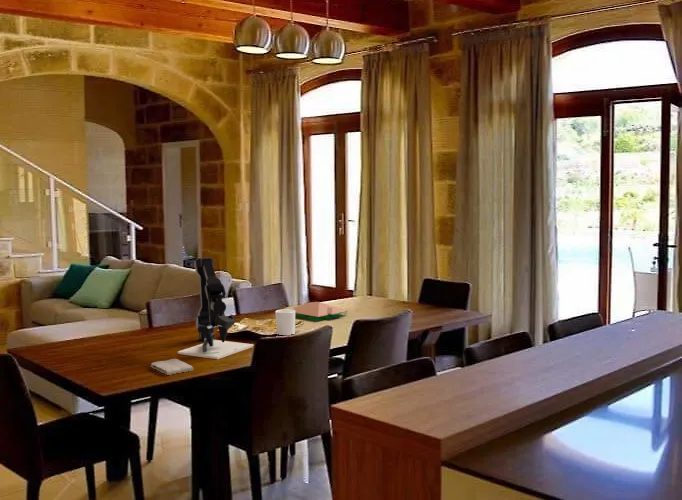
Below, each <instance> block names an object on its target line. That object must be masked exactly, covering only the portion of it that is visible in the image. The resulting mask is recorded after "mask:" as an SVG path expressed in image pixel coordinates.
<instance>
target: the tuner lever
mask: <svg viewBox="0 0 682 500" xmlns="http://www.w3.org/2000/svg"><path fill="white" fill-rule="evenodd" d="M203 343H204V344H203ZM203 343H202V344H203V345H202V348H203V352H207V350H208V348H209V347H210V345H209V343H208V341H207V340H206V338H204V341H203Z"/></svg>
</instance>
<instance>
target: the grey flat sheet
mask: <svg viewBox="0 0 682 500" xmlns="http://www.w3.org/2000/svg"><path fill="white" fill-rule="evenodd" d="M203 344H204V342H203V343H201V344H197V345H194V346H191V347H188V348H184V349H181V350H179V351H177V354H179V355H185V356H192V357H198V358H199V357H200V358H207V359H215V360H219V359H223V358H225V357H228V356H232V355H233V354H236V353H239V352H242V351H245V350H247V349H251V348H254V347H255V346H254V344H253V343H251V344H250V343H246V342H245V343H243V342H237V341H236V342H235V341H228V340H225V341H224V342H222V341H221V339H220V340H219V339H213V346H210V347H209V348H208V350H207V352H203V348H202V345H203ZM253 346H254V347H253Z"/></svg>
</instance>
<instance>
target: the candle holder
mask: <svg viewBox="0 0 682 500" xmlns="http://www.w3.org/2000/svg"><path fill="white" fill-rule="evenodd" d="M293 309H294V308H284V309H283V308H281V309H277V310H275V321H276V330H277V331H276V332H277V335H278V334H279V335H291V334H295V335H296V317H295V310H293Z"/></svg>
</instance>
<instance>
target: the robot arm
mask: <svg viewBox="0 0 682 500" xmlns="http://www.w3.org/2000/svg"><path fill="white" fill-rule="evenodd" d="M193 266H194V269H195V272H196V273H197V275H198V277H199V294H200V295H199V297H200V307H199V309H198V311H197V316H196V320H195V325H196V326H195V328H196V329H197V333H198V337H199V338H197V339H196V340H197V341H203V342H204V338H206V340H207V341H208V343H209V345H210V346H213V340H217V339H216V337H215V333H216V332H215V331H214V330H215V329H216V328H218V333H219V337H220V340H221V341H222V342H224V341H226V337H227V333H228V331H229V329H231V328H232V327H233V326H234V325H235V320H236V318H235V315H234V314H230V315H225V312H226V310H227V305H226V303H225V301H223V299H225V298H226V296H227V293H226V289H225V286H224V284H223V283H222V280H221V279H220V278H218V277H217V275H216V271H215V268H214V267H215V265H214V258H212V257H197V258H196V259H195V260H194V261H193Z"/></svg>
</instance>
